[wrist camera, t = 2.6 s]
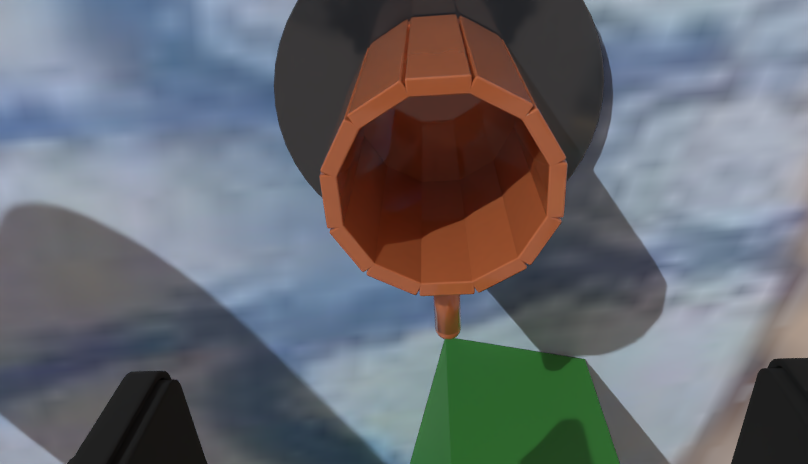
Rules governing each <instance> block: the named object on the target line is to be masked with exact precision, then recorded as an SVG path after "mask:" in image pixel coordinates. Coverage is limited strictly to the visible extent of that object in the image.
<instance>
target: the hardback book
mask: <svg viewBox="0 0 808 464" xmlns="http://www.w3.org/2000/svg"><path fill="white" fill-rule="evenodd" d="M410 464H620V463H619V460H618V457H617V454H616V451H615V448H614V445H613V442H612V439H611V436H610V433H609V430H608V427H607V424H606V421H605V418H604V415H603V412H602V409H601V406H600V403H599V400H598V397H597V394H596V391H595V388H594V385H593V382H592V379H591V376H590V373H589V370H588V367H587V364H586V361H585V359H580V358H573V357H567V356H561V355H555V354H549V353H542V352H536V351H530V350H524V349H518V348H511V347H505V346H499V345H493V344H487V343H480V342H474V341H468V340H462V339H456V338H453V339H449V340H447V339H445V340H444V344H443V347H442V351H441V354H440V358H439V362H438V365H437V369H436V372H435V376H434V379H433V383H432V387H431V390H430V394H429V397H428V401H427V405H426V408H425V412H424V415H423V419H422V422H421V426H420V430H419V433H418V437H417V440H416V444H415V448H414V451H413V455H412V458H411V462H410Z"/></svg>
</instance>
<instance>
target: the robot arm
mask: <svg viewBox="0 0 808 464" xmlns="http://www.w3.org/2000/svg"><path fill="white" fill-rule="evenodd" d="M67 464H207V462H206V459H205V456H204V453H203V450H202V447H201V444H200V441H199V438H198V435H197V432H196V429H195V426H194V423H193V420H192V417H191V414H190V411H189V408H188V405H187V402H186V399H185V396H184V393H183V390H182V387H181V385H180V383H179V381H178V380H172V379H171V377H170V375H169V374H168V373H167V372H166V371H143V372H130V373H128V374H127V375H126V376H125V377H124V378H123V380H122V381H121V383H120V385H119V386H118V388H117V389H116V391H115V393H114V394H113V396H112V397H111V399H110V401H109V402H108V404H107V405H106V407H105V408H104V410H103V412H102V413H101V415H100V416H99V418H98V420H97V421H96V423H95V424H94V426H93V428H92V429H91V431H90V432H89V434H88V435H87V437H86V439H85V440H84V442H83V443H82V445H81V447H80V448H79V450H78V451H77V453H76V454H75V456H74V457H73V458H72V459H70V461H69V462H68V463H67ZM731 464H808V358H786V359H774V360H772V361H771V362H770V364H769V366H768V368H764V369H761V370H760V371H759V373H758V375H757V378H756V382H755V385H754V388H753V392H752V395H751V398H750V402H749V405H748V409H747V412H746V415H745V419H744V422H743V425H742V429H741V432H740V436H739V439H738V442H737V446H736V449H735V452H734V456H733V459H732V463H731Z"/></svg>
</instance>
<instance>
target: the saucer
mask: <svg viewBox="0 0 808 464" xmlns="http://www.w3.org/2000/svg"><path fill="white" fill-rule="evenodd" d="M454 14H455V15H457V18H459V16H463V17H465V18H467V19H469V20H471V21H473V22H474V23H476V24H478V25H480V26H482V27H484V28H486V29H488V30H490V31H492V32H493V33H495V34H497V35H499V36H500V38H501V39H503V40H504V41H505V43H506V45H507V47H508V48H509V50H510V52H511V54H512V55H513V57H514V59H515V60H516V62H517V64H518V66H519V67H520V69H521V71H522V73H523V74H524V76H525V78H526V80H527V82H528V84H529V86H530V88H531V90H532V92H533V94H534V96H535V97H536V99H537V101H538V103H539V105H540V107H541V109H542V111H543V113H544V115H545V117H546V119H547V121H548V123H549V125H550V127H551V128H552V130H553V132H554V134H555V136H556V138H557V140H558V142H559V144H560V146H561V148H562V150H563V152H564V154H565V156H566V159H565V160H566V161H567V164H568V167H567V180H568V179H569V178H570V177H571V175H572V174H573V172H574V171H575V169H576V168H577V166H578V165H579V163H580V162H581V160H582V159H583V157H584V155H585V153H586V151H587V149H588V147H589V145H590V143H591V141H592V138H593V135H594V132H595V129H596V126H597V123H598V120H599V115H600V111H601V106H602V101H603V88H604V68H603V56H602V51H601V46H600V41H599V36H598V33H597V31H596V28H595V25H594V22H593V19H592V17H591V14H590V12H589V10H588V9H587V7H586V5H585V3H584V1H583V0H298V1H297V3H296V5H295V7H294V9H293V11H292V12H291V14H290V16H289V18H288V20H287V23H286V25H285V28H284V31H283V34H282V37H281V40H280V43H279V48H278V53H277V58H276V63H275V76H274V94H275V107H276V112H277V116H278V121H279V126H280V129H281V132H282V135H283V138H284V141H285V144H286V146H287V148H288V150H289V152H290V154H291V156H292V158H293V160H294V162H295V164H296V165H297V167H298V169H299V170H300V172H301V173H302V175H303V176H304V178H305V179H306V180H307V181H308V183H309V184H310V185H311V186H312V187H313V188H314V190H315V191H316V192H317V193H318V194H319V195H320V196H321V197H322V191H321V185H320V178H319V176H320V173H321V171H320V169H321V166H322V163H323V161H324V158H325V155H326V152H327V149H328V147H329V144H330V141H331V138H332V135H333V133H334V130H335V127H336V124H337V121H338V119H339V116H340V113H341V110H342V107H343V105H344V102H345V99H346V96H347V93H348V91H349V88H350V85H351V83H352V81H353V79H354V76H355V74H356V72H357V70H358V67H359V65H360V63H361V61H362V59H363V56H364V54H365V52H366V50H367V48H369V47H370V44H371V43H373V42H374V41H376V40H377V39H378V38H380V37H381V36H383V35H384V34H386V33H387V32H389V31H390V30H391V29H393V28H394V27H396V26H397V25H399V24H400V23H401V22H403V21H404V20H406V19H408V20H409V21H410V19H411V18H412V17H424V16H439V15H454Z"/></svg>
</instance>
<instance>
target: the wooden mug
mask: <svg viewBox="0 0 808 464" xmlns="http://www.w3.org/2000/svg"><path fill="white" fill-rule="evenodd" d="M565 159H566V156H565V154H564V152H563V150H562V148H561V146H560V144H559V142H558V140H557V138H556V136H555V134H554V132H553V130H552V128H551V127H550V125H549V123H548V121H547V119H546V117H545V115H544V113H543V111H542V109H541V107H540V105H539V103H538V101H537V99H536V97H535V96H534V94H533V92H532V90H531V88H530V86H529V84H528V82H527V80H526V78H525V76H524V74H523V73H522V71H521V69H520V67H519V66H518V64H517V62H516V60H515V59H514V57H513V55H512V54H511V52H510V50H509V48H508V47H507V45H506V43H505V41H504V40H503V39H501V38H500V36H499V35H497V34H495V33H493V32H492V31H490V30H488V29H486V28H484V27H482V26H480V25H478V24H476V23H474V22H473V21H471V20H469V19H467V18H465V17H463V16H459V18H457V15H455V14H454V15H439V16H424V17H412V18H411V19H410V21H409V20H408V19H406V20H404V21H403V22H401V23H400V24H399V25H397V26H396V27H394V28H393V29H391V30H390V31H389V32H387V33H386V34H384V35H383V36H381V37H380V38H378V39H377V40H376V41H374V42H373V43H371V44H370V47H369V48H367V50H366V52H365V54H364V56H363V59H362V61H361V63H360V65H359V67H358V70H357V72H356V74H355V76H354V79H353V81H352V83H351V85H350V88H349V91H348V93H347V96H346V99H345V102H344V105H343V107H342V110H341V113H340V116H339V119H338V121H337V124H336V127H335V130H334V133H333V135H332V138H331V141H330V144H329V147H328V149H327V152H326V155H325V158H324V161H323V163H322V166H321V169H320V171H321V173H320V176H319V178H320V185H321V191H322V198H323V204H324V211H325V217H326V224H327V227H328V228H330V234H331V235H332V236H333V237H334V239H335V240H336V241H337V242H338V243H339V244H340V246H341V247H342V248H343V249H344V250H345V252H346V253H347V254H348V255H349V256H350V258H351V259H352V260H353V261H354V262H355V264H356V265H357V266H358V267H359V268H360V270H361V271H362V272H364V271H366V270H367V275H368V276H370V277H373V278H375V279H377V280H380V281H382V282H385V283H387V284H389V285H392V286H394V287H397V288H399V289H401V290H404V291H406V292H409V293H411V294H413V295H416V294H417V293H418V291H419V294H420V296H434V314H435V329H436V332H437V334H438V335H439V336H440V337H441V338H443V339H447V340H449V339H453V338H455V337H456V336H458V334H459V333H460V330H461V312H460V295H461V294H474V293H475V289H476V290H477V291H478V292H482V291H484V290H485V289H487V288H489V287H491V286H493V285H495V284H497V283H499V282H501V281H503V280H505V279H507V278H509V277H511V276H513V275H515V274H517V273H519V272H521V271H523V270H525V269H526V268H527V265H526V263H527V264H529V265H531V264H532V263H533V261H534V260H535V259H536V257H537V256H538V254H539V253H540V252H541V250H542V249H543V247H544V246H545V245H546V243H547V242H548V240H549V239H550V238H551V236H552V235H553V233H554V232H555V231H556V229H557V228H558V226H559V225H560V224H561V222H562V221H561V218H560V217H563V216H564V209H565V195H566V181H567V167H568V164H567V161H566V160H565Z"/></svg>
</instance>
